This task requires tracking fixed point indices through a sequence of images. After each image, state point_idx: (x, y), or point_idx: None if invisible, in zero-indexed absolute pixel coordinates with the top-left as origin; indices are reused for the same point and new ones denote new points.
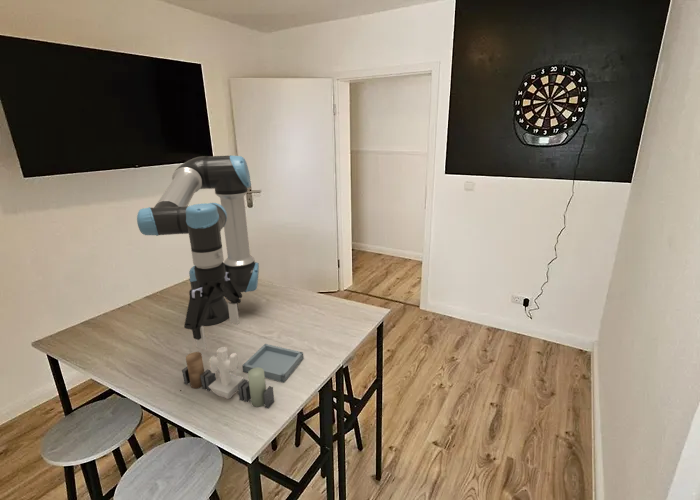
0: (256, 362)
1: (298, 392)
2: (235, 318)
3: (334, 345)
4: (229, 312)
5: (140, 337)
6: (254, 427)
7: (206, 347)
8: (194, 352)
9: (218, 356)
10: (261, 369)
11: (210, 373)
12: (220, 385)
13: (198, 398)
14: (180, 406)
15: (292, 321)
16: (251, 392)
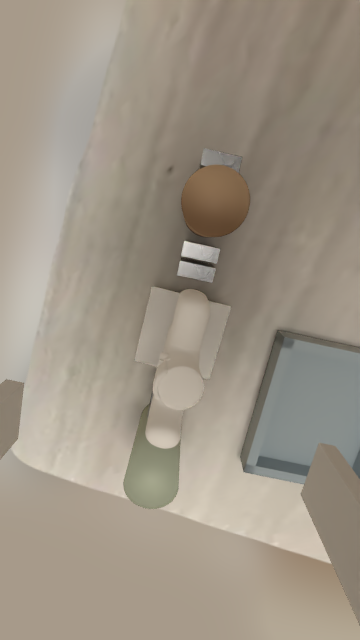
0: (322, 358)
1: (207, 499)
2: (321, 519)
3: None
4: (357, 513)
5: None
6: (78, 438)
7: (11, 442)
8: (244, 187)
9: (155, 372)
10: (169, 496)
11: (198, 274)
12: (163, 323)
13: (144, 250)
14: (104, 213)
15: None
16: (136, 435)
